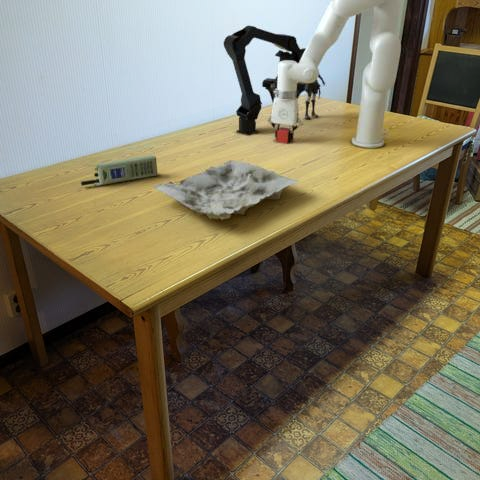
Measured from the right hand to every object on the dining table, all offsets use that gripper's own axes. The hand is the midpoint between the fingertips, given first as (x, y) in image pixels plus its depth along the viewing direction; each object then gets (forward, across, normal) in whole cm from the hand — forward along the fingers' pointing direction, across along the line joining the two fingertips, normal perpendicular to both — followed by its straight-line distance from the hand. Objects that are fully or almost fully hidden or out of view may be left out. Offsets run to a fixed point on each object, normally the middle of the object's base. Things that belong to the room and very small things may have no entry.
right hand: (284, 139), depth 204 cm
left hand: (-9, -7, +20) cm, 23 cm away
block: (0, 0, 0) cm, 0 cm away
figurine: (0, 0, +37) cm, 37 cm away
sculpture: (0, +2, -61) cm, 61 cm away
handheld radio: (+1, -36, -62) cm, 72 cm away
